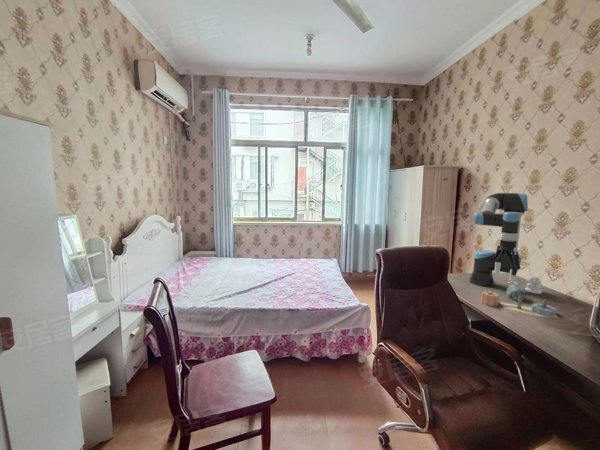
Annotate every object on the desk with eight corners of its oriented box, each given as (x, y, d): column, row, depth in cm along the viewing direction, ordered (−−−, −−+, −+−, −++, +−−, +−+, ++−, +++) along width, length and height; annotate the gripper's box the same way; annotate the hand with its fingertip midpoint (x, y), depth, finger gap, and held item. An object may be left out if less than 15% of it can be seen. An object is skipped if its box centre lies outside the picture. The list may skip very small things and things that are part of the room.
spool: (529, 299, 172) (521, 283, 176) (510, 303, 177) (503, 287, 180) (528, 298, 183) (520, 282, 187) (510, 302, 188) (503, 286, 191)
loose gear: (480, 299, 180) (481, 290, 179) (496, 301, 177) (497, 292, 176) (482, 304, 173) (484, 294, 172) (499, 307, 170) (500, 297, 169)
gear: (528, 306, 168) (529, 301, 168) (551, 310, 165) (552, 305, 164) (534, 314, 159) (535, 309, 159) (559, 317, 155) (559, 312, 155)
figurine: (521, 287, 203) (523, 272, 202) (538, 289, 200) (540, 274, 198) (527, 293, 192) (529, 277, 191) (544, 295, 189) (546, 279, 187)
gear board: (499, 303, 175) (500, 290, 174) (549, 310, 166) (551, 297, 165) (505, 312, 163) (506, 299, 162) (559, 320, 154) (561, 306, 152)
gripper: (488, 235, 177) (484, 269, 180) (516, 244, 152) (511, 283, 156) (501, 236, 177) (497, 270, 180) (531, 244, 152) (526, 284, 155)
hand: (504, 276), depth 168 cm, fingers open, 13 cm apart
